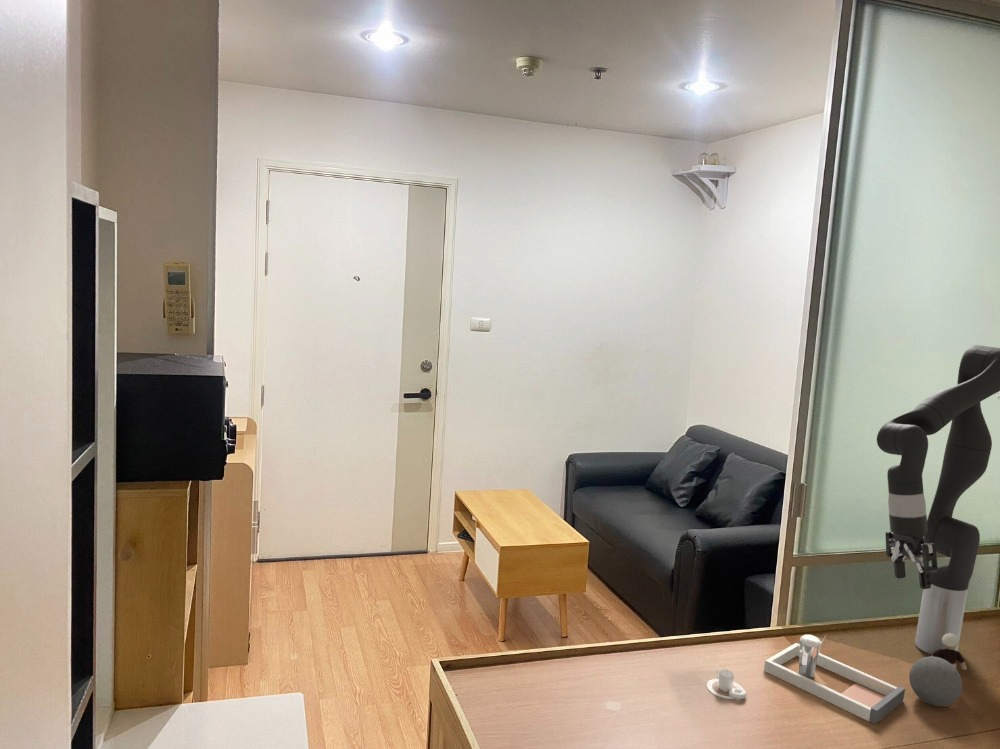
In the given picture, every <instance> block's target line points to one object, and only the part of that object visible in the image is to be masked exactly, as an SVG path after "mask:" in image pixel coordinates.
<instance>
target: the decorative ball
mask: <svg viewBox="0 0 1000 749" xmlns="http://www.w3.org/2000/svg"><path fill="white" fill-rule="evenodd" d="M908 678H909V684H910V687H911V689H912V691H913V693H914V694H915V695H916V696H917V698H918V699H920V700H922V701H923V702H924V703H926V704H928V705H932V706H935V707H946V706H949V705H952V704H954V703H955V702H956V701H957V700H958V699H959V698H960V696H961V694H962V690H963V680H962V678H961V674H960V673H959V671H958V670H957V667H956V668H955V667H954V666H953V665H952V664H951V663H949V662H948V661H946V660H944V659H942V658H939V657H933V656H932V655H930V656H924V657H921V658H919V659H918V660H916V661H915V662H914V663H913V664H912V665H911V668H910V670H909V674H908Z"/></svg>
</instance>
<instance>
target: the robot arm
mask: <svg viewBox="0 0 1000 749" xmlns="http://www.w3.org/2000/svg"><path fill="white" fill-rule="evenodd" d="M957 374H958V375H957V384H955V385H953V386H950V387H947V388H944V389H941V390H938V391H937V392H934V393H933V394H931V395H930V396H927V398H926V399H924V400H923V401H922V402H920V403H919V404H918V405H917V406H915V407H914V408H913V409H912V410H910V411H907V412H905V413H903V414H900V415H899V416H897V417H894V418H892V419H891V420H889V421H887V422H886V423H884V424H883V425H882V427H881V428H880V429H879V431H878V433H877V435H876V444H877V446H878V448H879V449H880V451H882V452H884V453H887V454H889V455H895V456H901V459H900V463H899V464H898V465H892V466H890V467H889V468H888V469H887V472H886V473H887V487H888V498H887V499H888V500H887V501H888V502H887V506H888V516H889V517H888V518H889V519H888V520H889V530H890V531H885V554H886V557H887V558H891V561H892V563H893V569H894V577H895V578H897V579H905V578H906V577H907V576H906V564H905V563H906V561H904V560H905V559H906V557H907V558H909V559H910V560H911V562H912V563H913V564H915V565H916V568H917V570H918V577H919V588H920V589H922V597H921V600H920V601H921V602H920V607H919V609H920V610H919V614H918V620H917V621H918V622H917V626H916V633H915V640H914V645H915V646H916V647H917V648H918V649H919V650H921V651H922V652H924V653H927V654H929V655H932V654H933V653H934V652H935V651H936V650H938V649H946V647H945V646H944V644H943V643H942V637H943V636H944V635H945V634H948V633H951V634H954V635H956V636H957V637H958V640H959V641H960V638H961V632H962V628H963V622H964V621H963V620H964V613H965V610H966V609H965V608H966V604H967V596H968V591H969V590H968V589H969V584H970V581H971V579H972V576H973V573H974V570H975V565H976V561H977V560H976V559H977V556H978V552H979V548H980V540H981V537H980V536H981V534H980V530H979V528H978V527H977V526H976V525H974V524H971V523H968V522H966V521H963V520H960V519H958V518H954V517H953V515H954V514H953V513H954V510H955V507H956V505H957V502H958V500H959V499H960V497H961V496H962V495H963V494H964V493H965V492H966V491H967V490H968V489H970V488H971V486H973V485H974V484H975V483H976V482H978V480H980V478H981V477H982V476H983V475H984V474H985V473H986V470H987V468H988V465H989V460H990V456H991V451H992V446H993V441H992V436H991V432H990V430H989V427H988V424H987V422H986V420H985V417H984V415H983V414H984V413H983V411H982V407H981V406H982V404H981V402H982V401H984V400H986V399H988V398H990V397H991V396H993V395H995V394H997V393H999V392H1000V347H994V346H987V345H980V344H979V345H977V344H976V345H975V344H974V345H970V346H969V347H968V348H966V349H965V351H964V352H963V354H962V356H961V359H960V363H959V366H958V373H957ZM950 422H951V424H950V429H949V433H948V437H947V440H946V444H945V448H944V454H943V460H942V465H941V469H940V475H939V478H938V484H937V488H936V491H935V494H934V498H933V500H932V504H931V507H930V510H929V513H928V516H927V504H926V498H925V495H924V484H923V482H924V480H923V473H924V472H923V471H924V469H925V465H926V464H925V463H926V459H927V455H928V450H929V438H928V436H933V435H935V434H936V433H939V431H941V430H942V429H943V428H945V427H947V425H948V424H949V423H950ZM892 548H893V550H892ZM937 553H938V554H939V555H940V554H941V555H942V556H945V557H947V558H948V557H949V558H950V559H949V563H948V564H938V559H937ZM930 561H931V563H930ZM959 645H960V643H959V644H958V646H957V647H956V648H955V649H954V650H956V651H958V649H959ZM958 652H959V651H958Z"/></svg>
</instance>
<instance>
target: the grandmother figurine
mask: <svg viewBox="0 0 1000 749" xmlns="http://www.w3.org/2000/svg"><path fill="white" fill-rule="evenodd" d="M942 643H943V644H944V646H945V647H946V649H938V650H936V651H935V652H934V653H933V654H931V656H933V657H939V658H942V659H944V660H946V661H948V662H949V663H951V664H952V665H953V666H954V667H955V668H956V669H957V661H958V663H959V664H960V667H961V669H962V670H964V671H965V670H967V666H966V665H967V664H966V661H965V659H964V657H963V655H962V654H961V653H960V652H959V651H956V650H954V649H955V648H956V647H957V646H958V647H959V645H960V639H959V640H958V637H957V636H956V635H954V634H951V633H948V634H945V635H944V636H943V637H942ZM958 644H959V645H958Z"/></svg>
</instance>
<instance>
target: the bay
mask: <svg viewBox="0 0 1000 749" xmlns="http://www.w3.org/2000/svg"><path fill="white" fill-rule="evenodd" d="M795 657H798V658H800V643H797V642H795V643H793V644H792V645H789V646H788V647H786V648H784V649H783V650H781V651H779V652H778V653H775V654H774V655H772V656H771V657H769V658H767V659H765V661H764V669H763V671H764V672H766V673H769V674H770V675H772V676H774V677H776V678H778V679H779V680H783V681H785V682H786V683H789V684H791V685H792V686H795V687H797V688H799V689H801V690H804V691H805V692H808V693H810V694H812V695H814V696H815V697H818V698H820V699H822V700H824V701H826V702H828V703H830V704H833V705H834V706H836V707H838V708H840V709H843V710H845V711H846V712H849V713H851V714H853V715H854V716H857V717H859V718H861V719H863V720H865V721H867V722H869V723H871V724H874V725H876V724H877V723H878V722H880V721H881V720H882V719H883V718H884V717H886V716H887V715H888V714H889V713H891V712H892V711H894V710H895V708H896V707H898V706H899V705H900V704H902V703H904V699H905V692H906V688H905V687H903V686H900V685H898V686H895V685H892V684H891V683H889V682H886V681H884V680H882V679H880V678H876V677H874V676H873V675H871V674H869V673H866V672H863V671H860V670H859V669H856V668H855V667H852V666H849V665H847V664H845V663H843V662H840V661H838V660H836V659H834V658H831V657H829V656H827V655H825V654H823V653H821V652H819V656H818V660H817V664H816V666H819V667H821V668H824V669H825V670H828V671H829V672H833V673H834V674H836V675H839V676H841V677H842V678H845V679H847V680H850V681H852V682H855V683H854V684H852V685H851V686H850V687H848V688H846V689H845V690H843V692H841V693H840V692H839V691H836V690H834V689H832V688H830V687H827V686H825V685H823V684H821V683H820V682H817V681H815V680H813V679H811V678H807V677H805V676H802V675H800V674H799V672H795V671H793V670H792V669H790V668H787V667H786V666H784V665H783V664H785V663H787V662H788V661H790V660H791V659H794V658H795Z"/></svg>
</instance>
